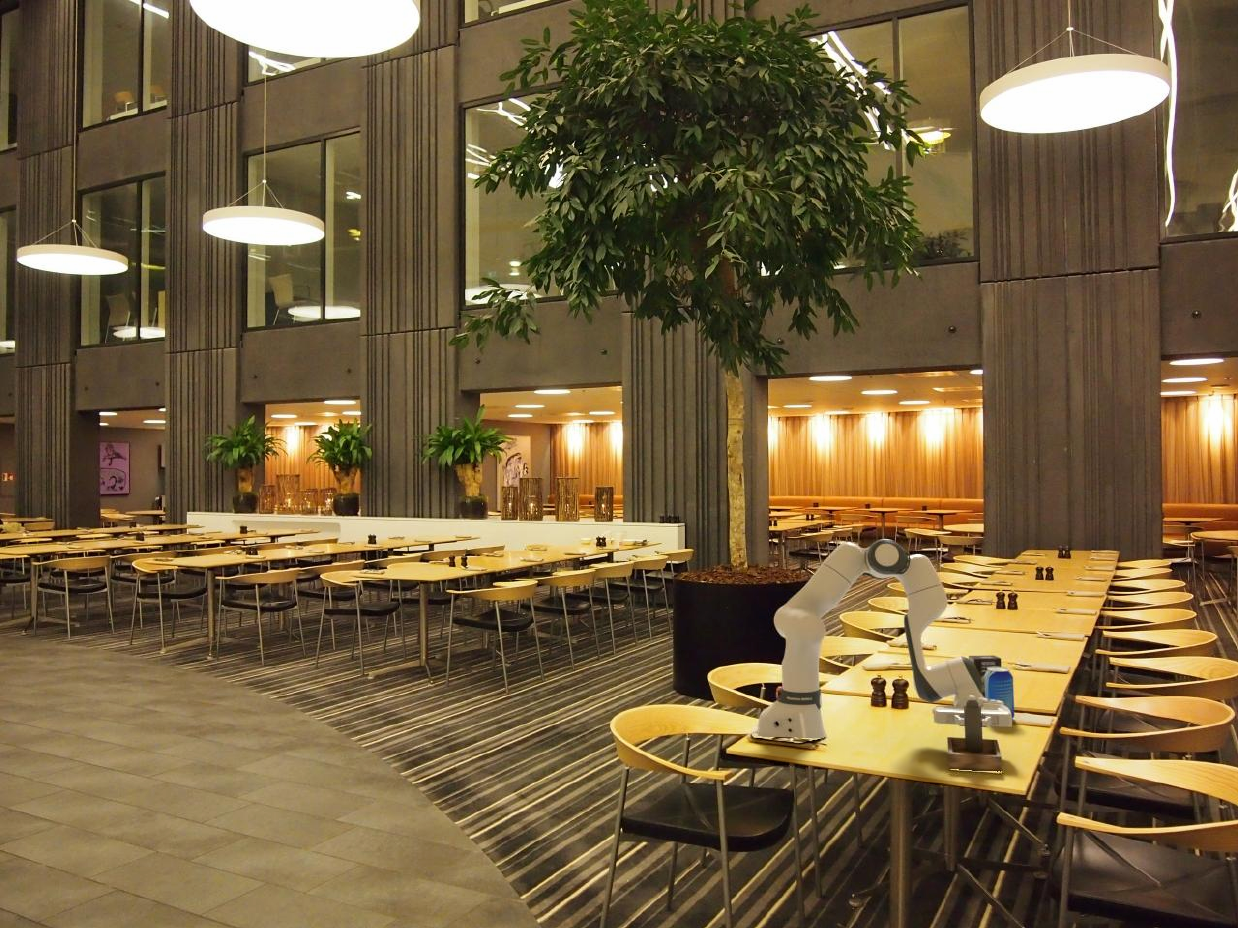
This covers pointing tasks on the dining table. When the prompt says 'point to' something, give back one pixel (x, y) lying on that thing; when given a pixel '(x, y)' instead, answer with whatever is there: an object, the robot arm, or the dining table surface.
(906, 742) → the dining table surface
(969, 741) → the pepper mill
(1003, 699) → the beer can
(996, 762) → the box
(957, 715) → the robot arm
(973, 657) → the coffee box
